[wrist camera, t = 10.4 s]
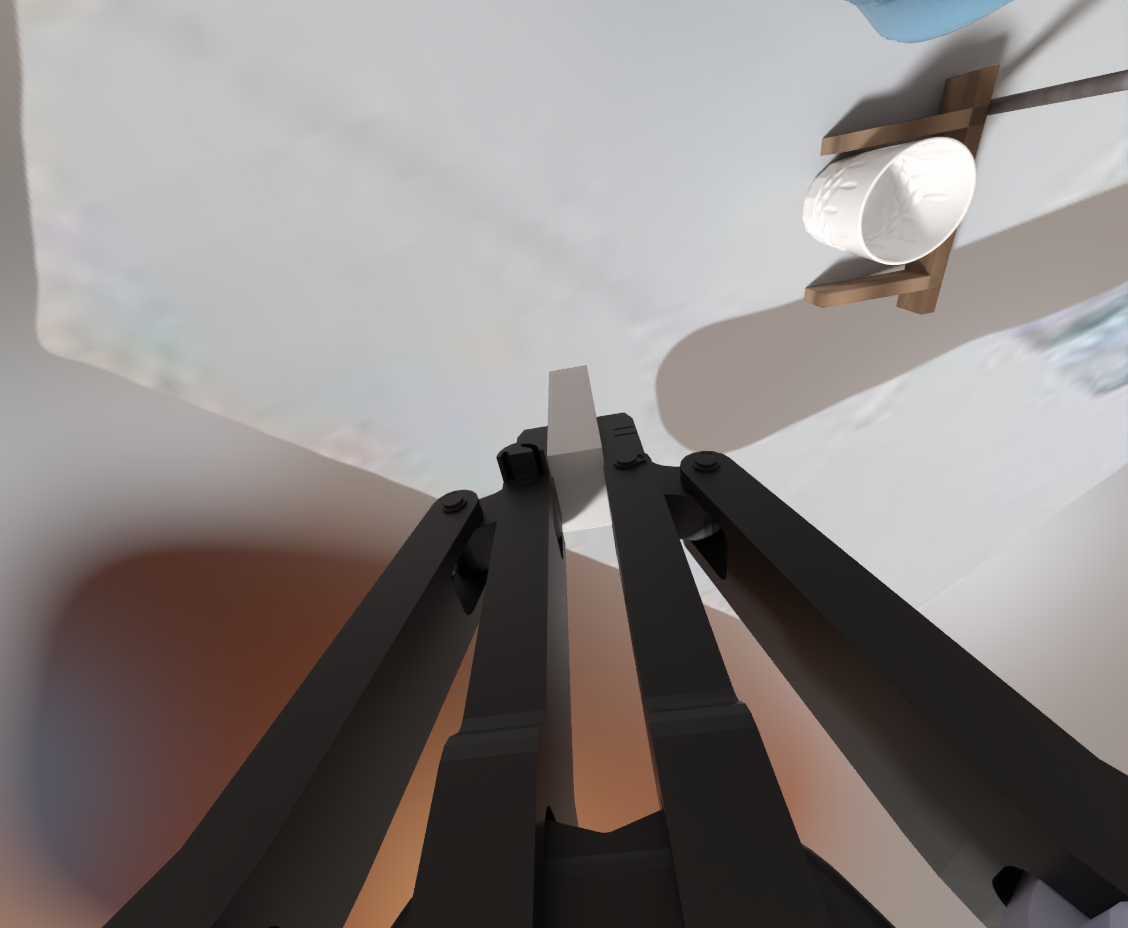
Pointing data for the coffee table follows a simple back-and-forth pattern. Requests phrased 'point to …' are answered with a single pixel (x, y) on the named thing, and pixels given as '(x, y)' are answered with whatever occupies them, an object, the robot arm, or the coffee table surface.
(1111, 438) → the coffee table surface
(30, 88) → the coffee table surface
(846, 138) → the wooden cup stand
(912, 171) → the white cup
